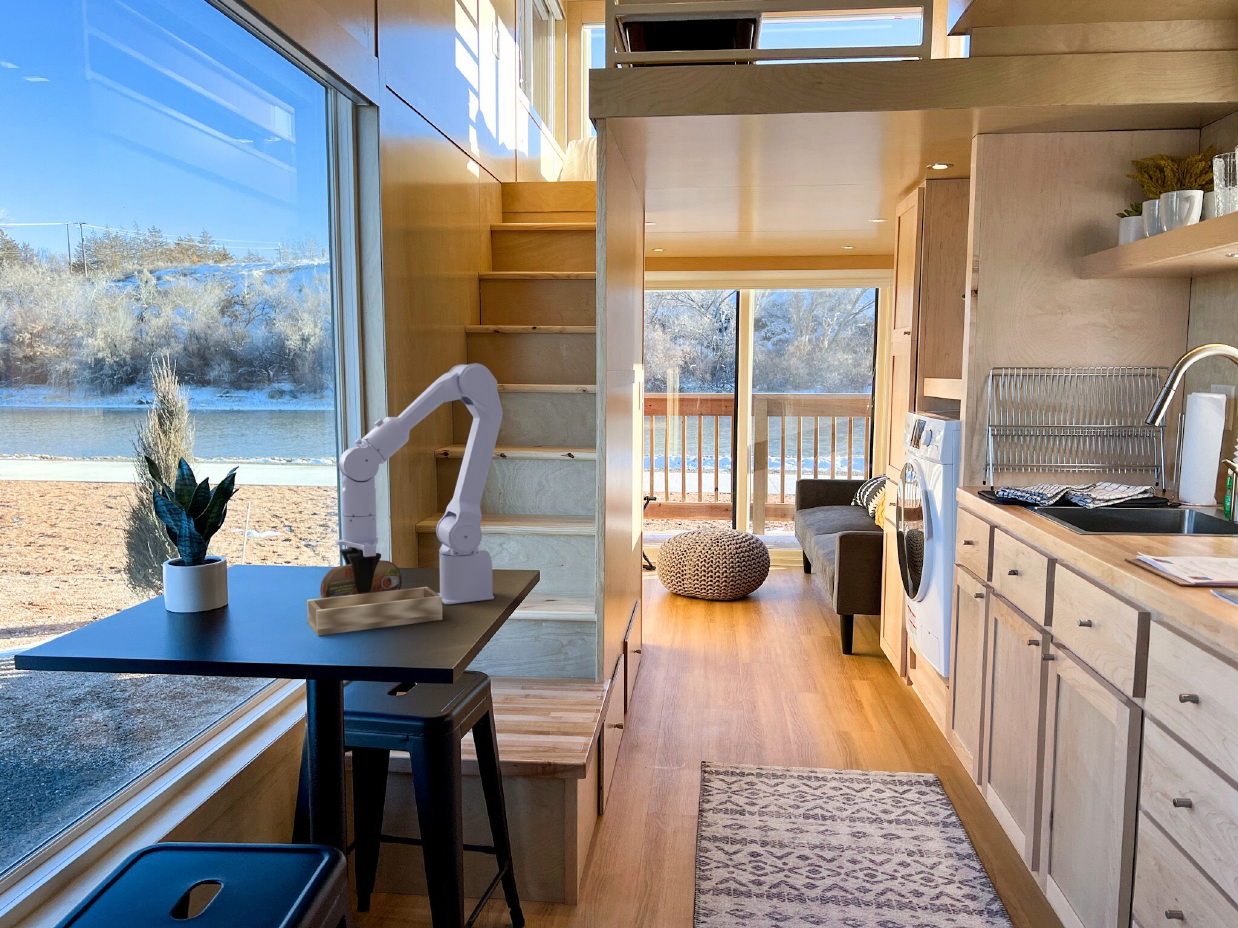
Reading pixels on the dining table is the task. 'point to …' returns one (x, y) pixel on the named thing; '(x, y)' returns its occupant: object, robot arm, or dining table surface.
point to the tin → (344, 584)
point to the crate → (373, 610)
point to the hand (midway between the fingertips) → (361, 589)
